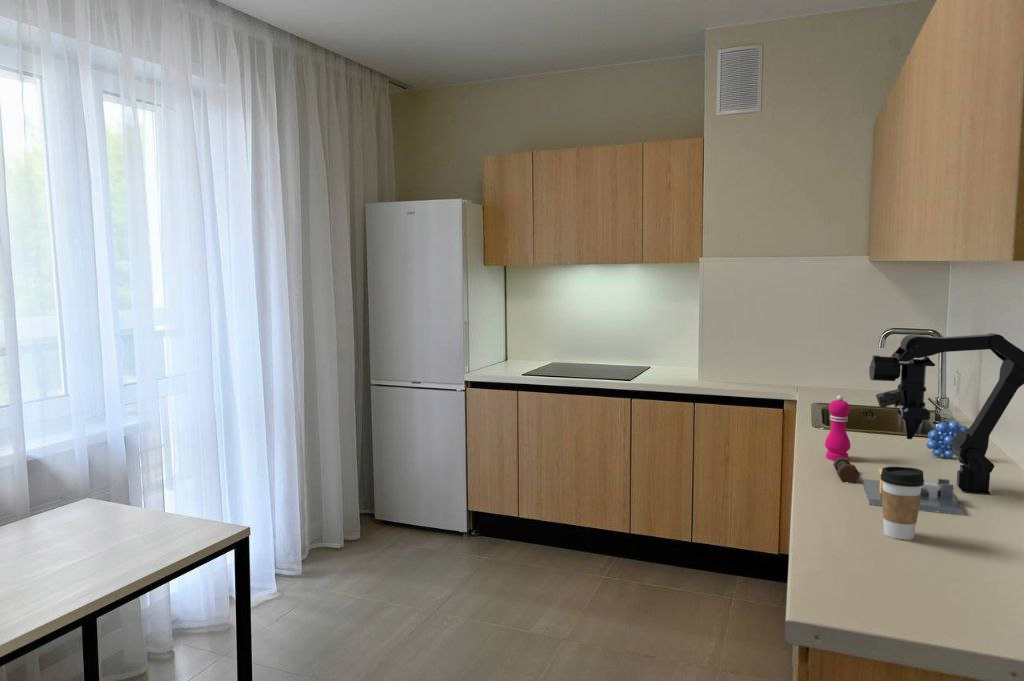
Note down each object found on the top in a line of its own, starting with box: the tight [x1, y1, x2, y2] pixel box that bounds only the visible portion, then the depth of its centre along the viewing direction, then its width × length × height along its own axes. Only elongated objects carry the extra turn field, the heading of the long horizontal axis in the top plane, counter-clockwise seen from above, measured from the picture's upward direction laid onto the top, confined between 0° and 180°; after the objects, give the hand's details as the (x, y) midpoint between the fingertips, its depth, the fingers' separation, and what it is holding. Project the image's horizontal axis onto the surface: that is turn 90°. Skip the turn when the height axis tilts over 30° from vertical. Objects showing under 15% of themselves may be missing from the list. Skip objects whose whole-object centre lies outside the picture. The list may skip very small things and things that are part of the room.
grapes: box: [925, 420, 969, 459], centre depth 218 cm, size 12×7×12 cm, turn 66°
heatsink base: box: [862, 478, 964, 516], centre depth 179 cm, size 20×18×5 cm
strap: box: [921, 480, 942, 491], centre depth 179 cm, size 14×3×1 cm, turn 68°
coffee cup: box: [879, 466, 925, 540], centre depth 154 cm, size 8×8×15 cm
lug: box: [878, 468, 883, 494], centre depth 180 cm, size 4×6×5 cm, turn 158°
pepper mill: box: [824, 394, 851, 461], centre depth 216 cm, size 7×7×20 cm
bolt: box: [832, 457, 861, 484], centre depth 200 cm, size 6×5×15 cm
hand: (909, 438), depth 189 cm, fingers closed
